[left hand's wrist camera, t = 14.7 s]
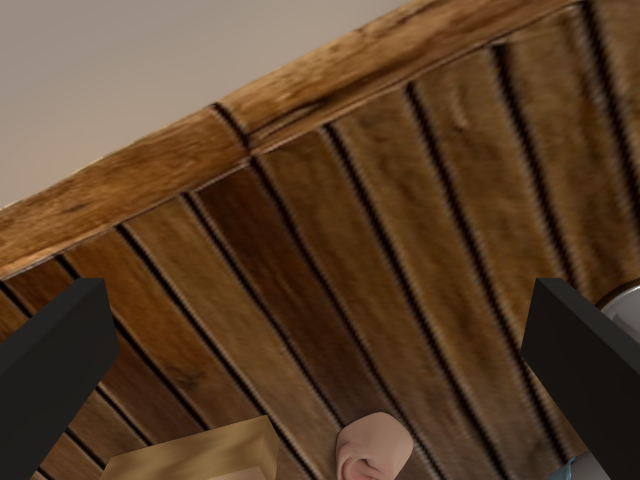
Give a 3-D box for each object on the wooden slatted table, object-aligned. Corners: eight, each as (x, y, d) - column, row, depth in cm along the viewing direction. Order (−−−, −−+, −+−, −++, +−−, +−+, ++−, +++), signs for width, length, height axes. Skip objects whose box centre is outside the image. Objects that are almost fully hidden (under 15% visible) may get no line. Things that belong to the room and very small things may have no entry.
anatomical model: (369, 425, 51) (441, 462, 54) (365, 401, 55) (433, 437, 57) (311, 489, 55) (381, 520, 58) (311, 463, 59) (377, 493, 61)
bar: (266, 414, 56) (258, 466, 49) (279, 439, 58) (273, 493, 50) (111, 456, 59) (81, 511, 51) (128, 479, 61) (101, 536, 53)
